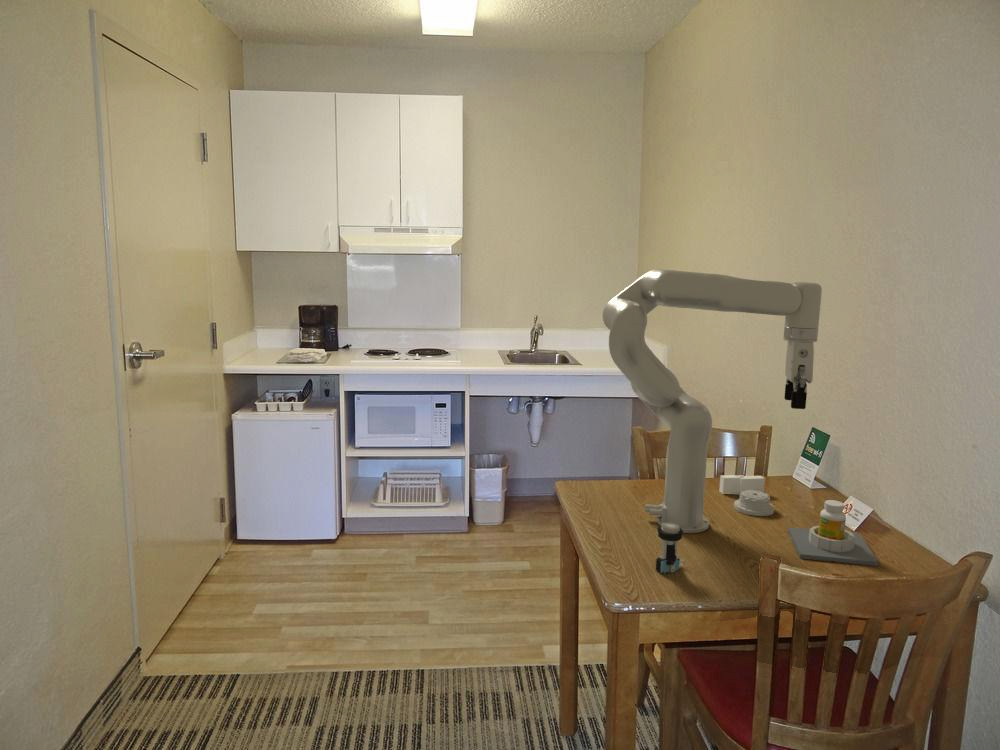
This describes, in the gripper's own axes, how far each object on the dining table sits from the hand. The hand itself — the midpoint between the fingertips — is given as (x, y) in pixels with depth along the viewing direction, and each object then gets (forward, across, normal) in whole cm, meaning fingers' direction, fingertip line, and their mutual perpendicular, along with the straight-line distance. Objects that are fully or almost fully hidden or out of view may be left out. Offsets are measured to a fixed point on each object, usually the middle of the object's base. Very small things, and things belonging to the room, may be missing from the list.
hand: (794, 404), depth 176 cm
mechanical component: (+31, +8, +6) cm, 32 cm away
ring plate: (+30, -14, -8) cm, 34 cm away
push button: (+31, -35, +28) cm, 54 cm away
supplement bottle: (+30, -14, -8) cm, 33 cm away
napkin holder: (+31, +20, +9) cm, 38 cm away
